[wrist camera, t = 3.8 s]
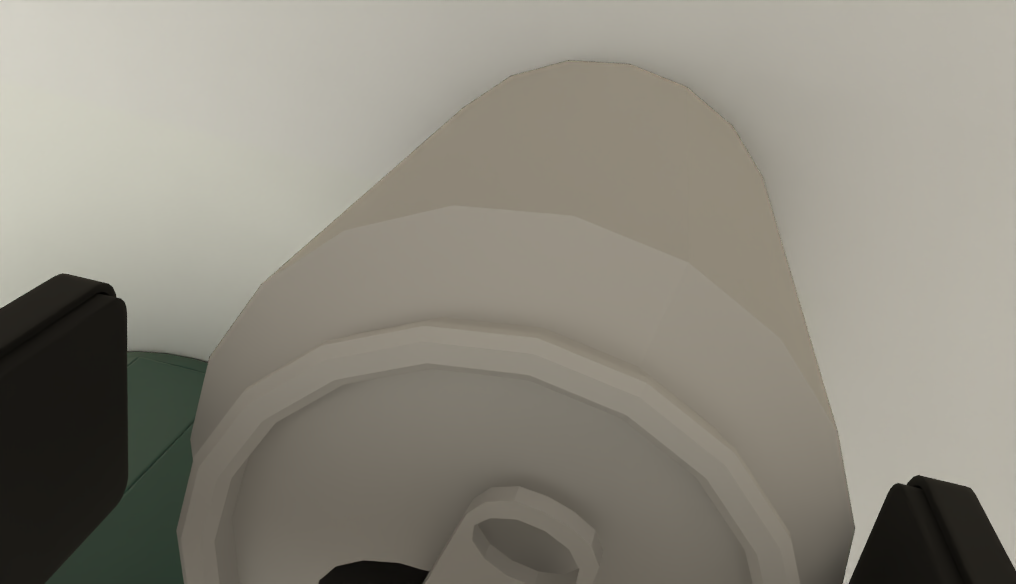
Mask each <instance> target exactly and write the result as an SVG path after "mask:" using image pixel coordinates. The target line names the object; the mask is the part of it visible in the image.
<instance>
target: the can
mask: <svg viewBox="0 0 1016 584" xmlns="http://www.w3.org/2000/svg"><path fill="white" fill-rule="evenodd" d="M190 441H191V449H192V457H193V464H192V468H191V472H190V476H189V480H188V484H187V489H186V493H185V497H184V501H183V505H182V509H181V513H180V518H179V522H178V526H177V530H176V532H177V539H178V546H179V553H180V560H181V566H182V573H183V580H184V584H842V583H843V579H844V575H845V570H846V566H847V562H848V557H849V553H850V549H851V544H852V540H853V536H854V531H855V525H854V520H853V514H852V509H851V503H850V497H849V492H848V486H847V480H846V475H845V469H844V464H843V458H842V452H841V447H840V441H839V436H838V431H837V427H836V424H835V421H834V417H833V414H832V410H831V407H830V404H829V400H828V397H827V393H826V390H825V387H824V383H823V380H822V377H821V373H820V370H819V366H818V363H817V360H816V356H815V353H814V349H813V346H812V343H811V339H810V336H809V332H808V329H807V326H806V322H805V319H804V315H803V312H802V309H801V305H800V302H799V299H798V295H797V292H796V288H795V285H794V282H793V278H792V275H791V271H790V268H789V265H788V261H787V258H786V254H785V251H784V248H783V244H782V241H781V237H780V234H779V231H778V227H777V224H776V221H775V217H774V214H773V210H772V207H771V204H770V200H769V197H768V193H767V190H766V187H765V183H764V180H763V177H762V175H761V173H760V172H759V170H758V168H757V167H756V165H755V163H754V161H753V160H752V158H751V156H750V155H749V153H748V151H747V150H746V148H745V146H744V144H743V143H742V141H741V139H740V138H739V136H738V134H737V132H736V131H735V129H734V127H733V126H732V125H731V124H730V123H728V122H727V121H726V120H725V119H724V118H723V117H721V116H720V115H719V114H718V113H717V112H716V111H714V110H713V109H712V108H711V107H710V106H708V105H707V104H706V103H705V102H704V101H703V100H701V99H700V98H699V97H698V96H697V95H696V94H694V93H693V92H692V91H691V90H690V89H689V88H687V87H686V86H683V85H681V84H678V83H676V82H673V81H671V80H668V79H666V78H663V77H661V76H658V75H656V74H653V73H651V72H648V71H646V70H643V69H641V68H638V67H636V66H633V65H631V64H621V63H604V62H588V61H571V60H568V61H564V62H560V63H557V64H553V65H549V66H545V67H542V68H538V69H534V70H531V71H527V72H523V73H519V74H516V75H512V76H510V77H508V78H507V79H505V80H504V81H502V82H501V83H499V84H498V85H496V86H495V87H493V88H492V89H490V90H489V91H487V92H486V93H484V94H483V95H481V96H480V97H478V98H477V99H475V100H474V101H472V102H471V103H469V104H468V105H466V106H465V107H463V108H462V109H461V110H460V111H459V112H458V113H457V114H455V115H454V116H453V117H452V118H451V119H450V120H449V121H447V122H446V123H445V124H444V125H443V126H442V127H441V128H439V129H438V130H437V131H436V132H435V133H434V134H433V135H431V136H430V137H429V138H428V139H427V140H426V141H425V142H423V143H422V144H421V145H420V146H419V147H418V148H417V149H415V150H414V151H413V152H412V153H411V154H410V155H409V156H407V157H406V158H405V159H404V160H403V161H402V162H401V163H399V164H398V165H397V166H396V167H395V168H394V169H393V170H391V171H390V172H389V173H388V174H387V175H386V176H385V177H383V178H382V179H381V180H380V181H379V182H378V183H377V184H375V185H374V186H373V187H372V188H371V189H370V190H369V191H367V192H366V193H365V194H364V195H363V196H362V197H360V198H359V199H358V200H357V201H356V202H355V203H354V204H352V205H351V206H350V207H349V208H348V209H347V210H346V211H344V212H343V213H342V214H341V215H340V216H339V217H338V218H336V219H335V220H334V221H333V222H332V223H331V224H330V225H328V226H327V227H326V228H325V229H324V230H323V231H322V232H320V233H319V234H318V235H317V236H316V237H315V238H314V239H312V240H311V241H310V242H309V243H308V244H307V245H306V246H304V247H303V248H302V249H301V250H300V251H299V252H298V253H296V254H295V255H294V256H293V257H292V258H291V259H290V260H288V261H287V262H286V263H285V264H284V265H283V266H282V267H280V268H279V269H278V270H277V271H276V272H275V273H274V274H272V275H271V276H270V277H269V278H268V279H267V280H266V281H264V282H263V283H262V284H261V285H260V287H259V288H258V290H257V291H256V292H255V294H254V295H253V297H252V298H251V299H250V301H249V302H248V304H247V305H246V306H245V308H244V309H243V311H242V312H241V313H240V315H239V316H238V318H237V319H236V320H235V322H234V323H233V325H232V326H231V327H230V329H229V330H228V332H227V333H226V335H225V336H224V337H223V339H222V340H221V342H220V343H219V344H218V346H217V347H216V349H215V350H214V351H213V353H212V354H211V356H210V357H209V361H208V365H207V370H206V374H205V378H204V382H203V387H202V391H201V395H200V399H199V404H198V408H197V412H196V416H195V421H194V425H193V429H192V433H191V438H190Z"/></svg>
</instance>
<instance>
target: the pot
mask: <svg viewBox="0 0 1016 584" xmlns="http://www.w3.org/2000/svg"><path fill="white" fill-rule="evenodd" d="M207 365H208V363H206V362H203V361H200V360H197V359H192V358H187V357H182V356H176V355H171V354H166V353H151V352H137V351H136V352H127V382H128V482H127V486H126V489H125V492H124V494H123V497H122V498H121V500H120V502H119V503H118V505H117V506H116V507H115V508H114V509H113V510H112V511H111V513H110V514H109V515H108V516H107V517H106V518H105V519H104V520H103V521H102V522H101V523H100V524H99V526H98V527H97V528H96V529H95V530H94V531H93V532H92V533H91V534H90V535H89V536H88V537H87V538H86V540H85V541H84V542H83V543H82V544H81V545H80V546H79V547H78V548H77V549H76V550H75V551H74V553H73V554H72V555H71V556H70V557H69V558H68V559H67V560H66V561H65V562H64V563H63V564H62V565H61V567H60V568H59V569H58V570H57V571H56V572H55V573H54V574H53V575H52V576H51V577H50V578H49V580H48V581H47V582H46V583H45V584H184V580H183V573H182V566H181V560H180V553H179V546H178V539H177V532H176V530H177V526H178V522H179V518H180V513H181V509H182V505H183V501H184V497H185V493H186V489H187V484H188V480H189V476H190V472H191V468H192V464H193V457H192V449H191V441H190V438H191V433H192V429H193V425H194V421H195V416H196V412H197V408H198V404H199V399H200V395H201V391H202V387H203V382H204V378H205V374H206V370H207Z"/></svg>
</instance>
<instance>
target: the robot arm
mask: <svg viewBox="0 0 1016 584" xmlns="http://www.w3.org/2000/svg"><path fill="white" fill-rule="evenodd" d="M127 482H128V382H127V310H126V305H125V303H124V301H123V300H122V299H120V298H116V294H115V291H114V289H113V287H112V286H110V285H109V284H107V283H103V282H99V281H95V280H90V279H86V278H82V277H78V276H73V275H69V274H63V273H62V274H59V275H57V276H54V277H53V278H51V279H49V280H48V281H46V282H44V283H43V284H41V285H39V286H38V287H36V288H34V289H33V290H31V291H29V292H28V293H26V294H24V295H23V296H21V297H19V298H18V299H16V300H14V301H12V302H11V303H9V304H7V305H6V306H4V307H2V308H1V309H0V584H45V583H46V582H47V581H48V580H49V578H50V577H51V576H52V575H53V574H54V573H55V572H56V571H57V570H58V569H59V568H60V567H61V565H62V564H63V563H64V562H65V561H66V560H67V559H68V558H69V557H70V556H71V555H72V554H73V553H74V551H75V550H76V549H77V548H78V547H79V546H80V545H81V544H82V543H83V542H84V541H85V540H86V538H87V537H88V536H89V535H90V534H91V533H92V532H93V531H94V530H95V529H96V528H97V527H98V526H99V524H100V523H101V522H102V521H103V520H104V519H105V518H106V517H107V516H108V515H109V514H110V513H111V511H112V510H113V509H114V508H115V507H116V506H117V505H118V503H119V502H120V500H121V498H122V497H123V494H124V492H125V489H126V486H127ZM849 584H1016V571H1015V569H1014V567H1013V565H1012V563H1011V561H1010V559H1009V557H1008V555H1007V554H1006V552H1005V550H1004V548H1003V546H1002V544H1001V542H1000V540H999V538H998V536H997V535H996V533H995V531H994V529H993V527H992V525H991V523H990V521H989V519H988V517H987V515H986V514H985V512H984V510H983V508H982V506H981V504H980V502H979V500H978V498H977V496H976V495H975V493H974V492H973V491H972V489H971V488H969V487H966V486H962V485H958V484H953V483H949V482H945V481H941V480H936V479H932V478H928V477H924V476H920V475H917V476H915V477H913V478H912V479H911V480H910V481H909V482H908V484H907V485H903V484H899V483H897V484H894V485H893V486H892V488H891V489H890V491H889V492H888V494H887V497H886V499H885V501H884V503H883V506H882V508H881V510H880V513H879V515H878V517H877V520H876V522H875V524H874V526H873V529H872V531H871V533H870V536H869V538H868V540H867V543H866V545H865V547H864V549H863V552H862V554H861V556H860V559H859V561H858V563H857V566H856V568H855V570H854V572H853V575H852V577H851V579H850V582H849Z"/></svg>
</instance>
